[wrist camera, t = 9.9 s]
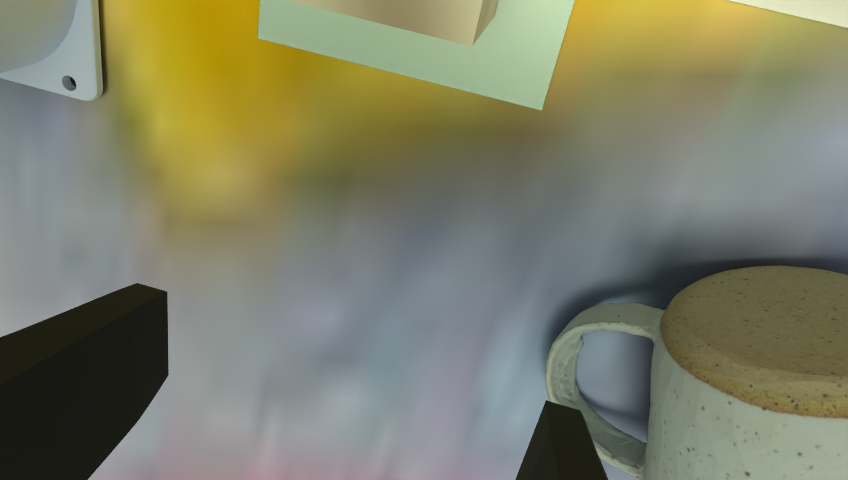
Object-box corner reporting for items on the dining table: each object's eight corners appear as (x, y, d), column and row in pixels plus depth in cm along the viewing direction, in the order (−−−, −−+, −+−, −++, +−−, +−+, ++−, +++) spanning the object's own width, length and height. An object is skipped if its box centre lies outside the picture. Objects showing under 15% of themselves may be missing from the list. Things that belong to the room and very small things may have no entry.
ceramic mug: (896, 242, 18) (1078, 422, 12) (860, 448, 22) (986, 679, 15) (538, 258, 21) (520, 410, 15) (555, 438, 25) (548, 629, 18)
